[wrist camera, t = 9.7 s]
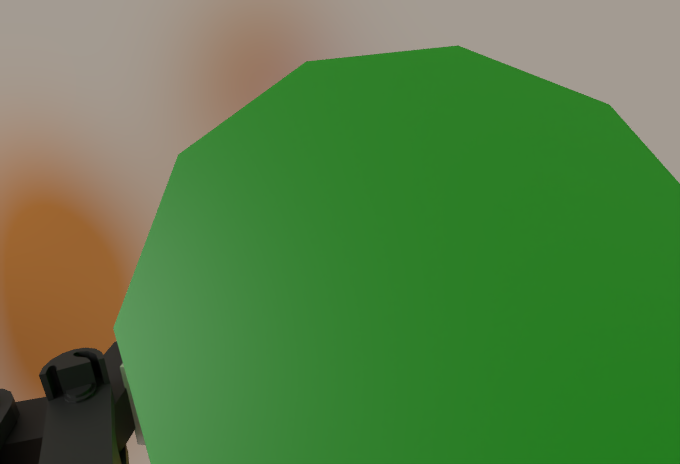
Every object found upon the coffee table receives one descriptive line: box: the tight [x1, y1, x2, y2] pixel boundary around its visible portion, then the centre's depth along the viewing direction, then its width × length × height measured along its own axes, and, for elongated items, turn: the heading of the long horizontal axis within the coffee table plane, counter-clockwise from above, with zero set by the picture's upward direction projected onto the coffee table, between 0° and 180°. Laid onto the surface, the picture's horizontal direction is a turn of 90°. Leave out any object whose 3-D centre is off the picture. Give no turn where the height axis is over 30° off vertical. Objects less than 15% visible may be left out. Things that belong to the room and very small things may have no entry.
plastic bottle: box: [113, 46, 680, 464], centre depth 14 cm, size 10×10×25 cm
